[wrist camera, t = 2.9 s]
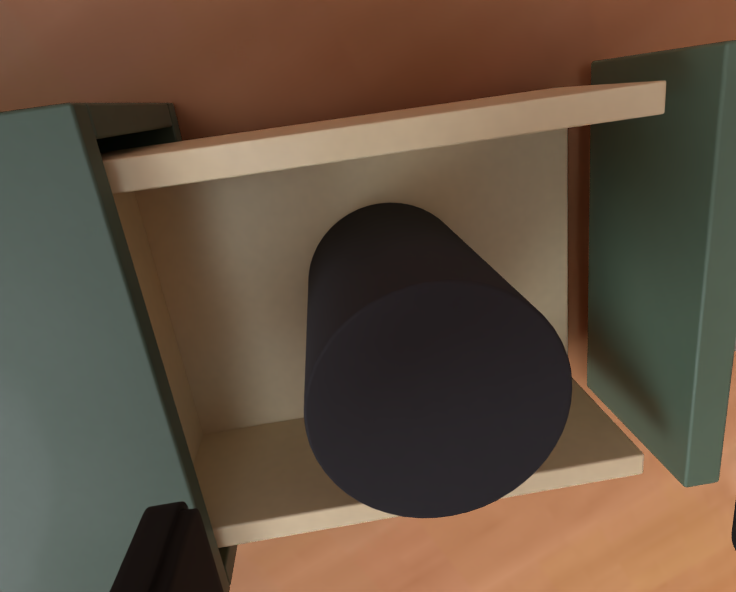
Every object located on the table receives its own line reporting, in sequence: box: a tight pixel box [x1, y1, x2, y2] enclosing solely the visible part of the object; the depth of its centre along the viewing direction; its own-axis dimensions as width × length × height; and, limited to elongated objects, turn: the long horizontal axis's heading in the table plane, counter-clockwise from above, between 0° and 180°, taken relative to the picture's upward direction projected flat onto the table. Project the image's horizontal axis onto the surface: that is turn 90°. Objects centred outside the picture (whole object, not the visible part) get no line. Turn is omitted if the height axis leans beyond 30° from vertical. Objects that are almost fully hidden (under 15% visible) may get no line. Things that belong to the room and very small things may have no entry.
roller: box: [304, 203, 572, 518], centre depth 16 cm, size 6×6×9 cm
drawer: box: [100, 40, 736, 548], centre depth 18 cm, size 24×13×7 cm, turn 98°
